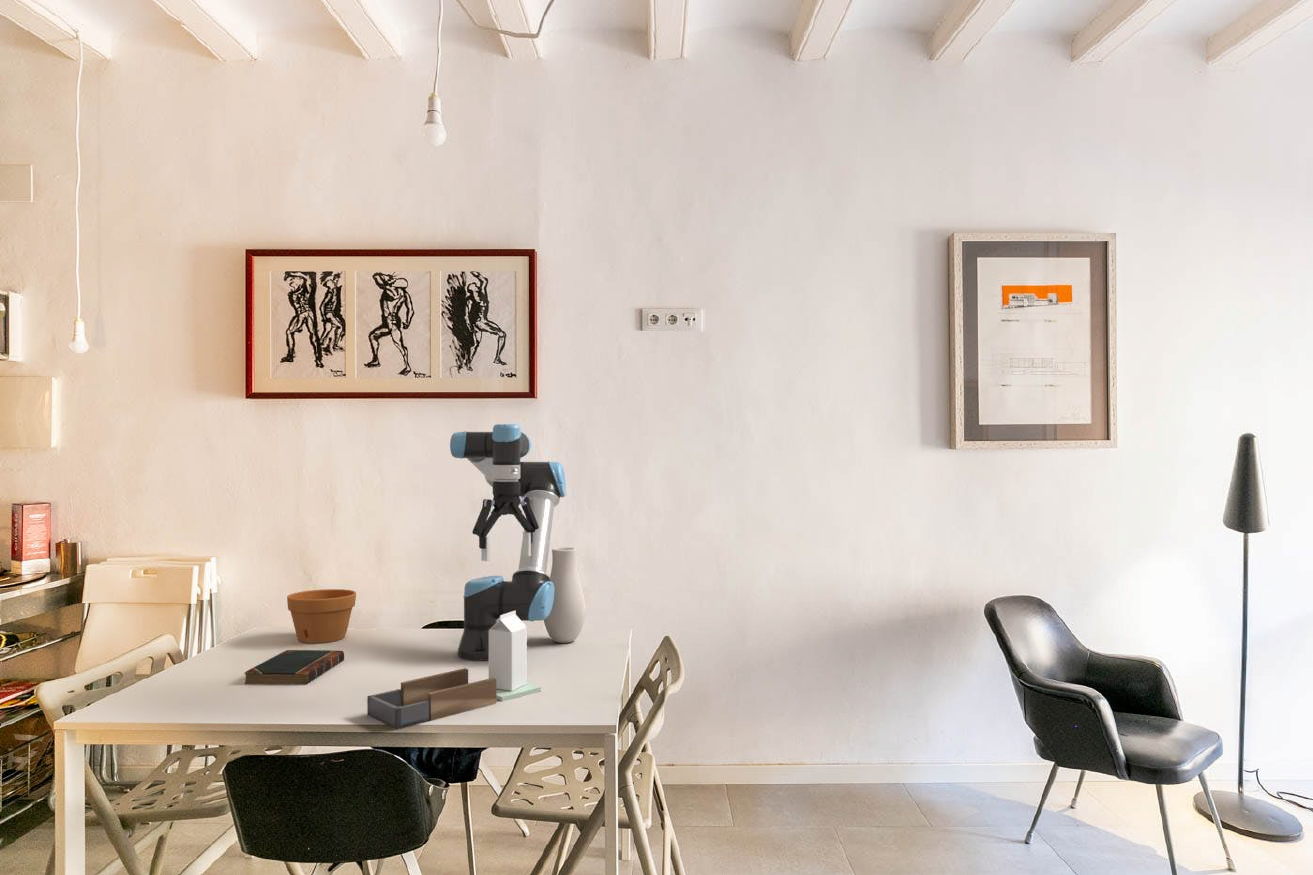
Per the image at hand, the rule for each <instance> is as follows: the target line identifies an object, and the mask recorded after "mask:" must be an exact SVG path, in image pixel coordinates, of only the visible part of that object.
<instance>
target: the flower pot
mask: <svg viewBox="0 0 1313 875" xmlns="http://www.w3.org/2000/svg"><path fill="white" fill-rule="evenodd" d="M356 601H357V592H356V591H355V590H351V589H339V588H335V589H334V588H333V589H331V588H328V589H327V588H326V589H324V588H323V589H311V590H303V591H297V592H293V593H290V594H288V595H287V596H286V602H287V610H288V611H289V612H290V614H291V619H292V622H293V626H294V631H295V634H296V639H297V641H298V642H300V643H303V644H325V643H332V642H337V641H340V640H343V639H345V637H346V634H347V632H348V627H349V624H350V618H351V614H352V611H353V608H354V607H355V605H356Z"/></svg>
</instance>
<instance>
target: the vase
mask: <svg viewBox="0 0 1313 875" xmlns="http://www.w3.org/2000/svg"><path fill="white" fill-rule="evenodd" d="M577 553H578V548H575V547H567V546H564V547H554V548H552V549H551V554H552V555H551V556H552V559H551V560H552V561H551V562H552V564H551V570H550V574H549V577H550V582H552V583H553V584H554V588H555V592H554V601H553V606H552V609H551V612H550V614H549V616H548V617H547V618H546V619H545V620H543V623H544V627H545V629H546V632H547V635H548V636H549V638H551V640H552V641H553V642H555V643H558V644H567V643H571V642H574V641H575V640H577V638H578V637H579V635H580V633H581V632H582V629H583V626H584V624H585V618H586V600H585V595H584V591H583V588H582V583H581V580H580V576H579V572H578V571H579V570H578V565H577V563H578V562H577V560H578V559H577V555H578V554H577Z"/></svg>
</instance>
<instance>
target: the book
mask: <svg viewBox="0 0 1313 875" xmlns="http://www.w3.org/2000/svg"><path fill="white" fill-rule="evenodd" d="M344 661H345V651H343V650H329V649H326V650H325V649H324V650H323V649H322V650H319V649H317V650H314V649H313V650H311V649H309V650H308V649H287V650H284V651H282V652H280V653H279V654H277V655H274V656H273V657H271V658H269V659H267V660H265V661H263V662H262V663H259V664H257V665H255V666H254V667H252V668H250V669H248V670H246V671H245V672H244V673H243V674H244V675H245V683H244V684H245V685H247V684H248V685H309V684H310V683H311V681H312V682H313V681H314V680H316V679H317V678H320V676H323V675H325V674H326V673H327V672H328V671H330V670H331V669H333V668H334V667H337V666H338V665H339V664H341V663H342V662H344ZM308 683H309V684H308Z"/></svg>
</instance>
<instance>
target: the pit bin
mask: <svg viewBox="0 0 1313 875" xmlns="http://www.w3.org/2000/svg"><path fill="white" fill-rule="evenodd" d="M366 705H367V710H366V711H367V715H366V716H368V717H369V718H372V719H374V720H376V721H378V722H381V723H382V724H384V725H387V726H389V727H391V728H393V729H394V730H401V729H405V728H408V727H411V726H412V727H413V726H415V725H419V724H423V723H428V722H430V720H429V701H423V702H419V703H415V704H411V705H407V706H401V688H400V689H399V688H396V689H393V690H390V691H384V692H380V693H375V694H371V695H367V704H366Z"/></svg>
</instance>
